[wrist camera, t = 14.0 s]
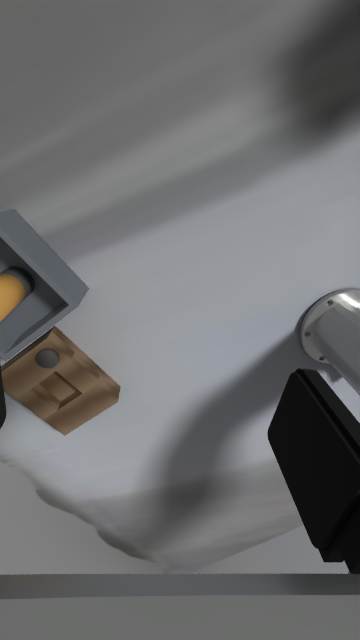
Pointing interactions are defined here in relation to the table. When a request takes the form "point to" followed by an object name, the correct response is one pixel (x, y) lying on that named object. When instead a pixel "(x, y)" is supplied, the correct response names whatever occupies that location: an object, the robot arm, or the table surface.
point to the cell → (14, 289)
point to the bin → (50, 284)
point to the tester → (59, 382)
